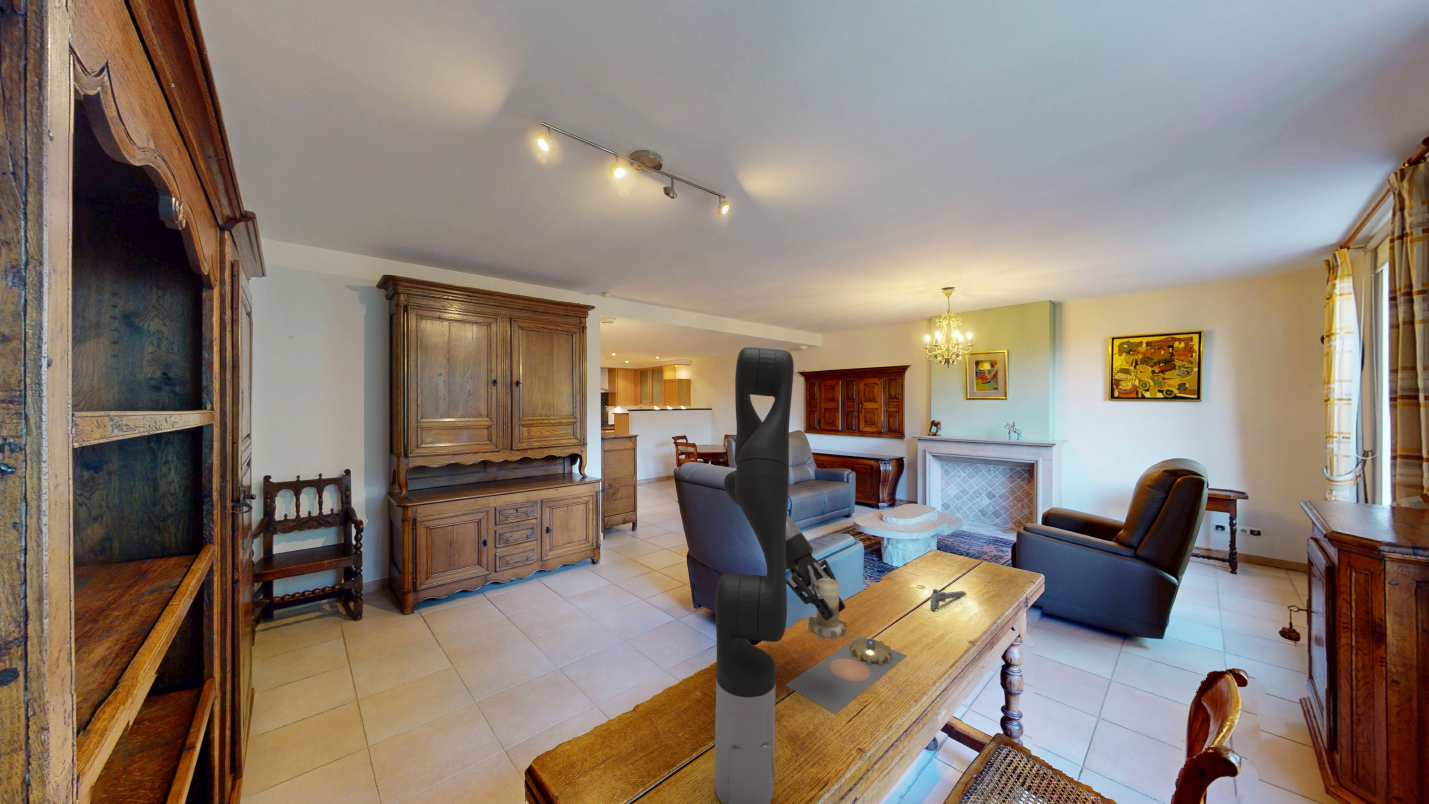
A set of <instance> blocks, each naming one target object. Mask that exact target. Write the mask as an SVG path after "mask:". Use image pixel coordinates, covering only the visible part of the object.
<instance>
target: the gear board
mask: <svg viewBox="0 0 1429 804" xmlns="http://www.w3.org/2000/svg"><path fill="white" fill-rule="evenodd" d="M860 637H863V636H861V635H859V636H857V637H856V638H855V639H857V640H858V639H860ZM864 638H865V639H867V638H866V637H864ZM850 642H851V643H853V640H852V641H850ZM850 642H849V643H847V644H846V645H844V646H843V647H841V648H840V649H838V650H836V651H835V652H833V653H832V654H830V655H829V656H827V657H826V658H824V659H823V660H821V661H820V662H818V663H817V664H815V665H814V666H812V667H810V668H809V669H807V670H806V671H804V672H803V673H801V674H800V675H798V676H797V677H795V678H793V679H792V680H790V681H789V682H787V683H785V686H786V687H787V688H789V689H790V690H792V691H794V692H796V693H798V694H800V695H801V696H802V697H805V698H806V699H808V700H810V701H812V702H813V703H815V704H817V705H818V706H820V707H821V708H824V709H825V710H827V711H828V712H830V713H832V714H834V715H837V714H838V713H839V712H841V711H842V710H843V709H844V708H846V706H847V707H848V705H849V704H850V703H852V702H853V701H854V700H855V699H857V698H858V697H859V696H861V694H863V693H864V692H865V691H867V689H869V688H870V687H871V686H872V685H874V684H875V683H876V682H877V681H879V680H880V679H881V678H883V676H885V675H886V674H887V673H889V672H890V671H891V670H892V669H893V668H895V667H896V666H897V665H898V664H899V663H901V662H902V661H903V660H905V658H907V657H908V655H906V654H903V653H902V652H899V651H897V650H895V649H892V648H891V651H892V660H891V659H890V663H889V664H887V663H883V664H882V666H879V665H878V664H871V665H868V664H867V662H864V661H861V662H859V661H858V660H857V657H855V656H852V655H851V651H850Z"/></svg>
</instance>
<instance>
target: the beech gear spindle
mask: <svg viewBox="0 0 1429 804" xmlns="http://www.w3.org/2000/svg"><path fill="white" fill-rule="evenodd" d="M836 580H837V579H836ZM836 580H834V579H830V577H829V578H822V579H819V580H818V581H817V582H818V589H819V591H820V593H821V596H822V599H824V600H825V601H826V603H827V604H828V606H829V607H830V609H831V610H832V612H833V613H834V616H833V617H832V618H830V619H829V620H828V621H826V620H825V619H824V618H823V617H822V616H821V614H820V613H819V611H818V610H817V609H816V616H815V617H814V616H809V618H808V623H807V625H808V630H807V631H808V633H813V635H816V636H817V637H816V638H817V639H819V640H822V639H823V638H824V639H827V640H828V639H831V640H832V641H837V639H839V638H841V637H842V638H846V637H847V622H846V621H845V620H840V618H839V615H840V614H839V613H840V612H839V597H840V581H838V580H837V581H836Z"/></svg>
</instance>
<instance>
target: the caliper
mask: <svg viewBox="0 0 1429 804" xmlns="http://www.w3.org/2000/svg"><path fill="white" fill-rule="evenodd" d="M966 594H967V592H965V591H963V590H956V591H950V592H946V591H940V590H939V589H937V588H935V589H934V588H933V589H932V593H931V596H930V611H932V612H934V611H936V610H935V609H938V610H939V607H940V603H946V600H948V599H954V598H955V599H956V598H962V597H965V596H966ZM964 595H965V596H964Z"/></svg>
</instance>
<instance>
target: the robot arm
mask: <svg viewBox="0 0 1429 804" xmlns="http://www.w3.org/2000/svg"><path fill="white" fill-rule="evenodd" d="M794 365H795V364H794V359H793V355H792V353H790V352H789V351H788V350H784V349H778V348H776V349H774V348H764V347H753V346H751V347H749V346H748V347H743V348H742V349H741V350H740V351H739V352H738V356H737V360H736V365H735V377H734V378H735V379H734V381H735V382H734V383H735V384H734V386H735V387H734V388H735V389H734V391H735V392H734V395H735V398H734V400H735V402H734V403H735V419H736V420H735V421H736V437H735V438H736V439H735V445H734V446H735V447H734V459H733V461H734V463H735V467H736V468H735V469H736V470H733V471H731V472H729V473H727V474H726V476H724V481H723V486H724V491H725V492H726V494H727V495H728V497H729V498H730V499H731V500H732V501H733V502H734V503H735V504H736V505H737V506H739V507H740V509H741V511H742V512H743V515H744V517H745V518H746V520H747V522H748V523H749V525H750V527H751V528H752V531H753V533H754V535H755V537H756V539H757V541H758V543H759V545H760V548H761V551H762V554H763V556H764V560H765V566H766V571H767V572H766V574H765V575H759V574H745V573H734V572H733V573H732V572H729V573H728V572H727V573H724V574H723V575H722V576H721V577H720V578H719V580H718V583H717V586H716V591H715V601H714V603H715V605H714V607H715V631H716V676H715V677H716V681H715V682H716V685H715V688H716V689H715V730H714V731H715V732H714V733H715V734H714V735H715V738H714V739H715V740H714V746H715V747H714V791H715V794H716V796H717V798H718V800H719V801H720V802H721V804H771V803H772V802H771V801H772V799H773V798H774V797H773V796H774V792H775V791H774V789H775V787H774V786H775V784H774V783H775V734H776V733H775V732H776V728H775V726H776V693H777V692H776V688H777V687H776V686H777V685H776V683H777V669H776V667H777V666H776V663H775V660H774V659H773V658H772V655H770V654H769V653H768V652H766V651H765V650H763V649H762V648H759V647H758V646H757V645H754V644H752V643H751V642H749V641H748V640H752V641H760V642H770V643H771V642H774V643H775V642H776V643H777V642H779V641H781V639H783V637H784V635H785V631H786V628H787V627H786V626H787V616H788V614H787V613H788V596H787V595H788V594H787V593H788V591H787V589H788V588H787V586H788V587H789V588H790V589H791V591H793V592H794V593H795V594H796V596H797V597H798V598H799V599H800V600H801V601H802V602H803V604H804V605H808V604H811V605H813V606H814V607H815V608H816V611H817V610H818V611H819V613H820V614H821V616H822V617H823V618H824V619H825V620H826V621H828V620H829V619H830V618H832V617H833V616H834V613H833V612H832V610H831V609H830V607H829V606H828V604H827V603H826V601H825V600H824V599H822V596H821V593H820V591H819V589H818V582H817V581H818V580H819V579H822V578H829V579H834V580H836V581H838V580H837V579H836V576H835V574H834V572H833V570H832V569H831V566H830V564H829V562H828V560H826V559H823V560H822V561H818V560H817V559H816V558H815V557H814V556H813V552H814V548H813V547H812V545H811V543H810V542H809V541H808V540H807V538H806V536H805V535H804V534H803V532H802V531H801V530H800V528H799V527H798V525H797V524H796V522H794V520H792V518H791V517H790V515H788V500H789V499H788V498H789V481H790V480H789V478H790V476H789V475H790V417H791V415H790V414H791V406H792V395H793V383H794V372H795V371H794V368H795V366H794ZM754 395H755V396H761V397H772V398H773V399H774V401H773V403H772V405H771V407H770V410H769V411H768V413H767V415H766V416H765V418H764V419H763V421H762V419H761V418H760V416H759V415H758V413H757V411H756V410H755V407H754V406H753V405H754V404H753V403H752V400H751V399H752V398H751V396H754ZM787 570H789V572H790V574H791V576H790V577H789V578H788V579H787ZM845 609H846V604H845V603H844V601H843V599H842V598H841V597H840V596H839V613H840V612H843V610H845Z"/></svg>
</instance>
